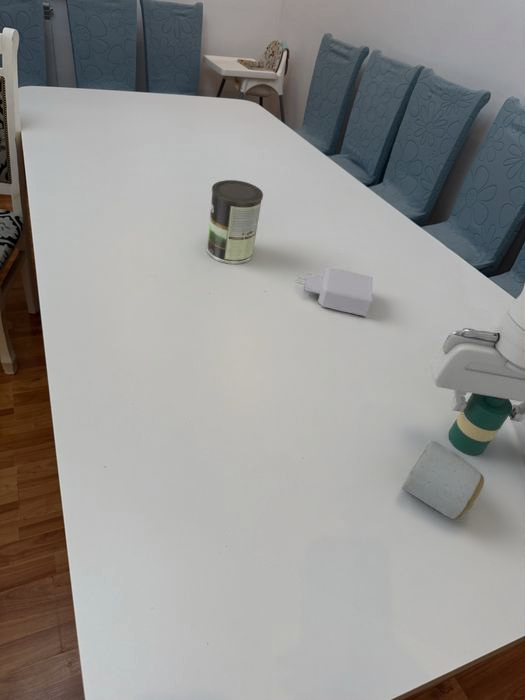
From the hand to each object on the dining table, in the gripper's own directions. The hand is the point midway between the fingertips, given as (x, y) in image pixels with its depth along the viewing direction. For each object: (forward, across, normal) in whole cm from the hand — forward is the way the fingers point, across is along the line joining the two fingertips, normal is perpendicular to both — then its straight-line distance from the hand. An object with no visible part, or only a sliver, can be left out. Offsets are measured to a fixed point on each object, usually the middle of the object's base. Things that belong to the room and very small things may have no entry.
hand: (485, 413), depth 72 cm
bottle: (+6, 0, 0) cm, 6 cm away
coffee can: (+7, -43, +44) cm, 62 cm away
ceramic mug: (+7, -7, -10) cm, 14 cm away
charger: (+7, -21, +33) cm, 40 cm away
